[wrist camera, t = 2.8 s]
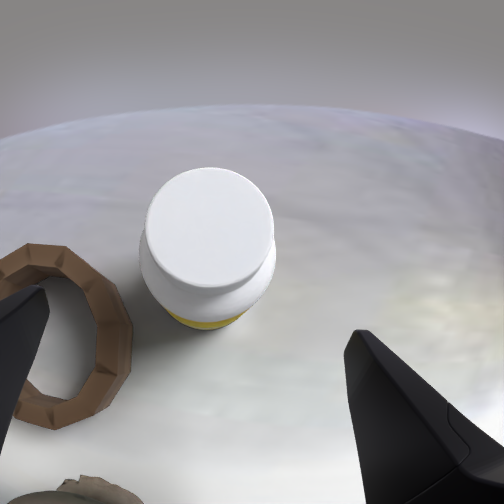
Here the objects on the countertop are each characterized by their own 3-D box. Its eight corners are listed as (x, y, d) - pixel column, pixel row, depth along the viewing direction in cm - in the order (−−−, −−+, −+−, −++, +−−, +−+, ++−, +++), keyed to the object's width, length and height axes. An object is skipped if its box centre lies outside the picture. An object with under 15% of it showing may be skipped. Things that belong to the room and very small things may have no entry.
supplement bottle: (263, 315, 19) (321, 284, 10) (174, 341, 18) (142, 338, 8) (236, 230, 20) (263, 135, 11) (151, 253, 19) (108, 171, 10)
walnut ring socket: (34, 434, 14) (11, 445, 11) (-17, 295, 16) (-42, 287, 13) (161, 382, 17) (153, 389, 14) (95, 232, 19) (79, 214, 16)
